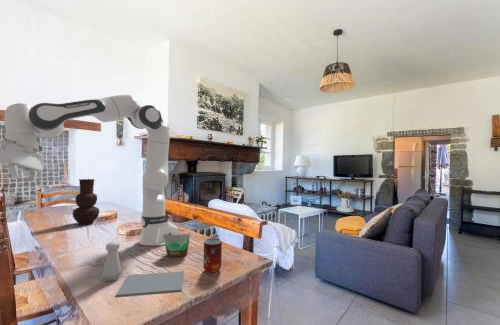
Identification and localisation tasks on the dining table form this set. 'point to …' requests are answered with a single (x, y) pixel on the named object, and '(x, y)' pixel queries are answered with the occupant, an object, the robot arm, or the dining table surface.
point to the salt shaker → (112, 262)
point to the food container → (177, 245)
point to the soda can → (212, 255)
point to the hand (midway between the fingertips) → (24, 179)
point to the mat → (151, 283)
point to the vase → (86, 203)
